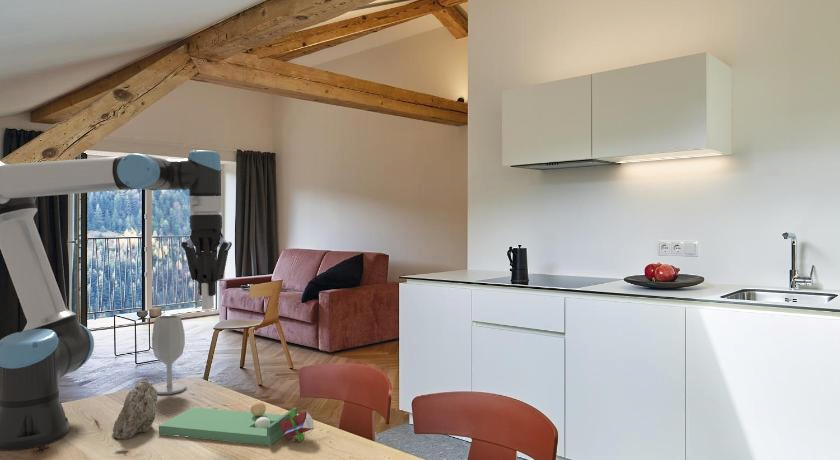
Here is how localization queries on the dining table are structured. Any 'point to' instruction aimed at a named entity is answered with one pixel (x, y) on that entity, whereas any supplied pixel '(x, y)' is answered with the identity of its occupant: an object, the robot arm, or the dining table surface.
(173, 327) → the wineglass
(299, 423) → the geometric puzzle
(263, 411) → the orange ball
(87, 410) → the dining table surface
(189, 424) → the putting mat
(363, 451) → the dining table surface
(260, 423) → the white ball
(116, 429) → the rock
